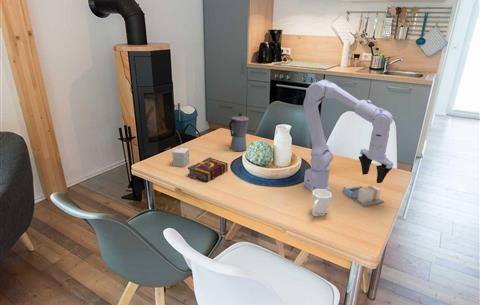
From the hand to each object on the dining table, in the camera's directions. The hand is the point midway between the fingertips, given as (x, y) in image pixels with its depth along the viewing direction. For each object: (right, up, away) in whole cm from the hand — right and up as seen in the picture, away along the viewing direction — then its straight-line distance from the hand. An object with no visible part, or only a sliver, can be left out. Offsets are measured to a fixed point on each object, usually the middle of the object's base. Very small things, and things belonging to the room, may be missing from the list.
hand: (372, 178), depth 121 cm
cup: (-22, -13, -6) cm, 26 cm away
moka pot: (-51, +11, +54) cm, 75 cm away
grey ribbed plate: (-1, -8, +6) cm, 10 cm away
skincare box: (-78, +4, +34) cm, 85 cm away
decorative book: (-65, 0, +25) cm, 69 cm away
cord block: (0, -9, +3) cm, 9 cm away
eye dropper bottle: (-9, +6, +42) cm, 43 cm away
